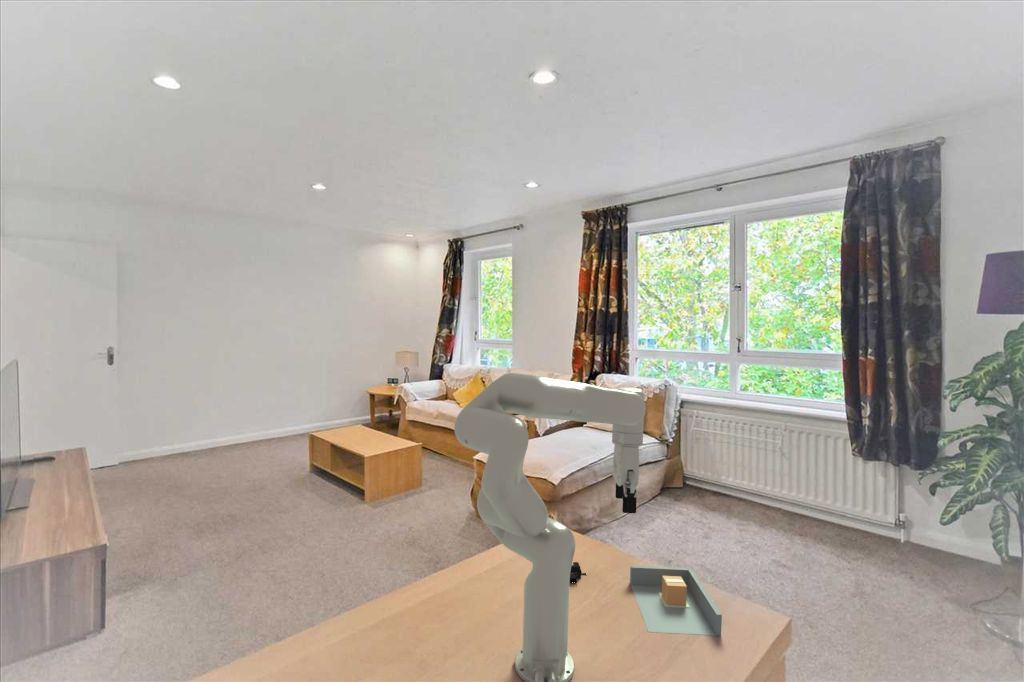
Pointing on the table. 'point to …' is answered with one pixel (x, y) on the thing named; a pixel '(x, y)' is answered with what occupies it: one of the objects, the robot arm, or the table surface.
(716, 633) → the grey blue tray
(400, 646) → the table surface
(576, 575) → the black hollow angular block
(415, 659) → the table surface
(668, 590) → the cube
